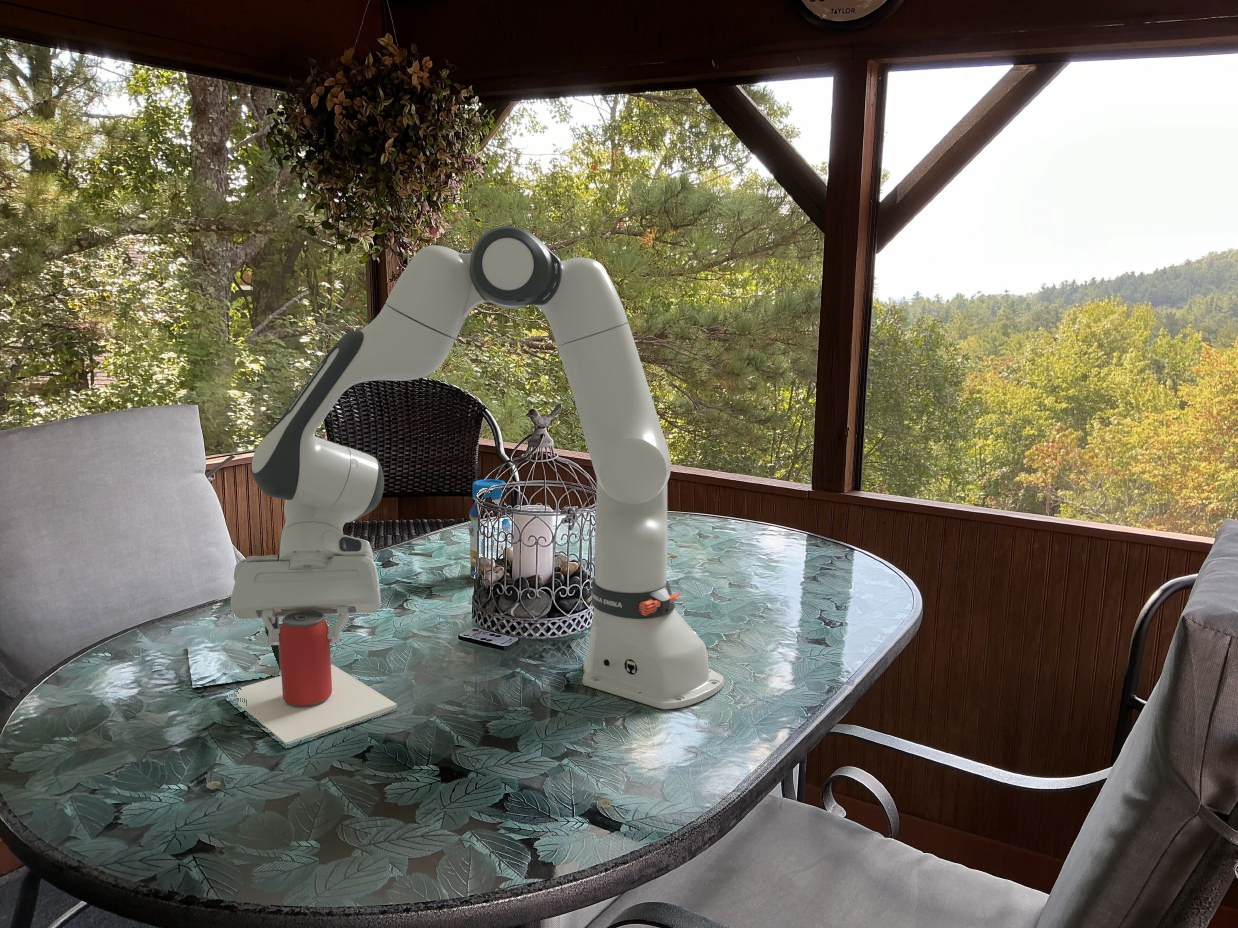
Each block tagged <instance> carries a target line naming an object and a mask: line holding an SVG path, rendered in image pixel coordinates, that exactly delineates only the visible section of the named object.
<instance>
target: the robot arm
mask: <svg viewBox="0 0 1238 928" xmlns="http://www.w3.org/2000/svg"><path fill="white" fill-rule="evenodd" d="M481 304H483V305H484V304H485V305H489V306H490V305H492V306H496V307H499V308H503V309H508V310H509V309H510V310H514V309H521V308H524V307H525V308H526V307H528V306H534V307H536V308H537V309H539V310H540V311H541V312H542V313H543V315H544V316H545V317H546V320H547V322H548V324H549V326H550V329H551V332H552V334H553V335H552V336H553V337H554V342H555V345H556V348H557V351H558V354H559V357H560V359H561V360H560V361H561V363H562V365H563V369H564V373H565V375H566V377H567V381H568V383H569V387H570V390H571V392H572V396H573V400H574V403H575V407H576V411H577V414H578V420H579V422H580V426H581V428H582V433H583V435H584V440H585V444H586V447H587V450H588V454H589V457H590V461H591V463H592V467H593V470H594V473H595V474H594V475H595V478H596V498H595V499H596V501H595V503H596V504H595V526H594V527H595V528H594V529H595V530H594V533H595V534H594V535H595V537H594V578H593V580H592V582H591V590H590V596H591V605H592V607H593V615H592V621H591V625H590V632H589V640H588V648H587V652H586V657H585V660H584V663H583V665H582V667H583V669H582V670H583V672H584V673H583V676H582V681H581V682H582V684H583V686H586V687H589V688H593V689H596V690H599V691H603V692H606V693H609V694H612V695H615V696H618V697H622V698H625V699H628V700H632V701H634V702H638V703H641V704H644V705H648V706H651V707H654V708H658V709H662V710H671V709H673V710H674V709H678V708H684V707H688V706H691V705H694V704H697V703H699V702H701V701H704V700H706V699H708V698H710V697H712V696H714V695H716V694H717V693H718V692H719V691H720V690H721V689H722V688H723V687H724V684H725V681H724V680H725V679H724V678H725V677H724V675H722V674H720V673H719V672H717V671H714V669H711V668H710V667H709V655H708V650H707V649H708V648H707V647H706V646H707V645H706V644H705V642H704V641H703V640H702V639H701V637H699V635H698V634H697V632H695V631H694V630H693V629H692V627H691V626H690V625H689V624H688V623H687V622H686V620H684V618H683V617H682V616H681V614H679V612H678V611H677V610H676V609H675V608H676V604H675V602H677V601H680V600H681V598H680V597H679V596H680V595H681V593H680V592H677V593H674V594H673V593H672V589H671V587H670V583H669V581H668V580H667V577H668V576H667V572H668V567H667V566H668V564H667V563H668V536H669V535H668V532H669V531H668V482H669V479H670V476H671V472H672V461H671V460H672V459H671V454H670V451H669V447H668V442H667V440H666V437H665V435H664V432H663V429H662V427H661V426H662V425H661V423H660V420H659V416H658V414H657V413H658V412H657V410H656V406H655V404H654V399H653V397H652V393H651V390H650V387H649V384H648V381H647V377H646V374H645V371H644V368H643V365H642V361H641V358H640V355H639V352H638V348H637V346H636V342H635V339H634V337H633V333H632V329H631V326H630V322H629V320H628V317H627V314H626V312H625V311H626V310H625V309H624V307H623V304H622V300H621V298H620V296H619V294H618V292H617V290H616V287H615V286H614V283H613V280H612V279H611V277H610V276H609V274H608V271H607V270H606V268H605V267H604V266H603V264H602V263H601V262H599V261H597V260H595V259H593V258H588V257H582V256H581V257H573V258H570V259H563V260H561V259H560V258H559V257H558V256H557V255H556V254H555V253H554V252H553V251H551V249H549V248H548V247H547V246H546V245H545V244H544V243H543V242H542V241H541V240H540V239H539V238H538V237H537V236H536V235H535V234H533V233H532V232H529V231H528V230H526V229H524V228H522V227H519V226H514V225H502V226H497V227H494V228H492V229H490V230H488V231H487V232H484V234H482V235H481V236H480V237H479V239H477V241H476V243H475V245H474V246H473V248H472V251H471V252H469V253H463V252H462V253H461V252H459V251H457V250H455V249H452V248H450V247H447V246H444V245H428V246H424V247H423V248H421V249H420V250H418V251H417V252H416V253H415V254H414V256H413V257H412V259H410V261H409V262H408V264H407V265H406V267H405V268H404V269H403V271H402V273H401V274H400V276H399V277H398V279H397V280H396V282H395V283H394V286H393V287H392V289H391V291H390V293H389V295H388V296H387V299H386V301H385V304H384V305H383V307H382V308H381V309H380V312H379V313H378V314H377V315H376V316H375V318H374V319H373V320H371V322H369V323H368V324H367V325H366V326H364V327H362V329H359V330H353V331H347V332H346V333H345V334H344V335H342V336H341V337H340V338H339V340H337V342H336V343H335V344H334V345H333V346H332V347H331V348H330V350H329V351H328V352H327V354H326V355H325V357H324V358H323V359H322V360H321V362H320V363H319V364H318V366H317V368H316V369H315V370H314V372H312V374H311V375H310V377H309V378H308V380H307V382H306V383H304V384H305V385H304V386H303V387H302V388H301V389H300V392H298V394H297V395H296V397H295V398H294V399H293V401H292V403H291V404H290V405H289V407H288V408H287V409H286V411H284V414H283V415H282V416H281V417H280V419H279V420H278V421H277V422H276V423H275V424H274V425H273V426H272V428H271V429H270V430H268V432H267V433H266V435H264V436H263V438H262V439H261V441H260V442H259V444H258V445H257V447H256V449H255V450H254V453H253V455H252V459H251V463H250V473H251V475H252V477H253V480H254V482H255V484H256V485H257V486H258V488H259V489H260V490H261V493H263V494H264V495H265V496H266V497H271V498H276V499H281V500H284V504H283V505H284V506H283V513H284V518H285V523H284V525H283V527H282V530H281V536H280V545H279V553H278V554H269V555H267V554H266V555H249V556H247V557H246V558H244V559H241V560H239V561H238V562H237V563H235V566H234V572H233V580H234V585H233V589H232V592H231V596H230V597H231V598H230V604H229V605H230V609H231V611H232V613H233V614H234V615H235V616H236V617H237V618H238V619H239V620H240V619H241V620H242V619H243V620H244V619H245V620H246V619H261V620H262V622H263V625H264V627H265V626H266V628H267V630H268V631H269V634H268V643H269V645H280V639H279V633H280V629H281V628H279V629H274V628H273V626H272V624H273V623H275V617H279V618H284V617H285V616H287V615H289V614H291V613H295V612H300V611H317V612H321V613H323V614H324V616H327V615H329V616H331V615H332V616H333V615H337V617H338V619H337V620H336V622H335V623H334V625H331V626H329V625H328V632H329V633H328V635H327V638H328V640H329V642H330V643H338V642H340V637H341V631H342V630H343V628H345V626H346V625H347V623H349V622H348V621H349V619H350V615H351V614H368V613H369V614H373V613H376V612H377V611H379V609H380V608H381V606H382V596H381V586H380V579H379V573H378V569H377V565H376V563H375V561H374V552H373V549H372V546H371V543H370V542H369V541H368V540H365V539H362V538H359V537H354V536H350V535H346V534H344V531H343V529H344V526H345V524H346V523H352V522H355V521H357V520H358V519H360V518H362V517H364V516H366V515H368V514H370V513H371V512H372V511H374V510H375V509H376V508H377V507H378V506H379V504H380V502H381V500H382V497H383V494H384V490H385V489H384V488H385V477H384V471H383V467H382V466H381V463H380V461H379V460H378V459H377V457H374V456H372V455H371V454H368V453H366V452H363V451H360V450H357V449H354V448H351V447H349V446H346V445H345V446H344V445H341V444H338V443H335V442H333V441H329V440H326V439H325V438H324V439H323V438H320V437H318V436H315V433H316V431H318V429H319V427H320V426H321V424H322V423H323V421H325V419H326V418H327V416H328V414H329V413H330V412H331V411H332V410H333V407H334V406H335V405H336V403H337V402H338V401H339V400H340V399H341V396H342V395H343V394H344V393H345V392H346V391H347V390H348V389H349V388H351V387H352V386H355V385H358V384H361V383H365V382H371V381H372V382H373V381H393V382H394V381H395V382H397V381H398V382H399V381H400V382H402V381H404V382H406V381H414V380H417V379H418V380H419V379H421V378H425V377H426V376H429V375H431V374H433V373H434V372H436V371H437V370H439V369H440V368H441V367H442V365H443V363H444V362H445V361H446V359H447V357H448V356H449V354H450V352H451V351H452V349H453V346H454V344H455V341H457V338H458V335H459V334H460V333H461V332H460V331H461V329H462V327H463V325H464V323H465V321H466V320H467V318H468V316H469V315H470V313H471V312H472V311H473V310H474V308H476V307H477V306H479V305H481Z"/></svg>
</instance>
